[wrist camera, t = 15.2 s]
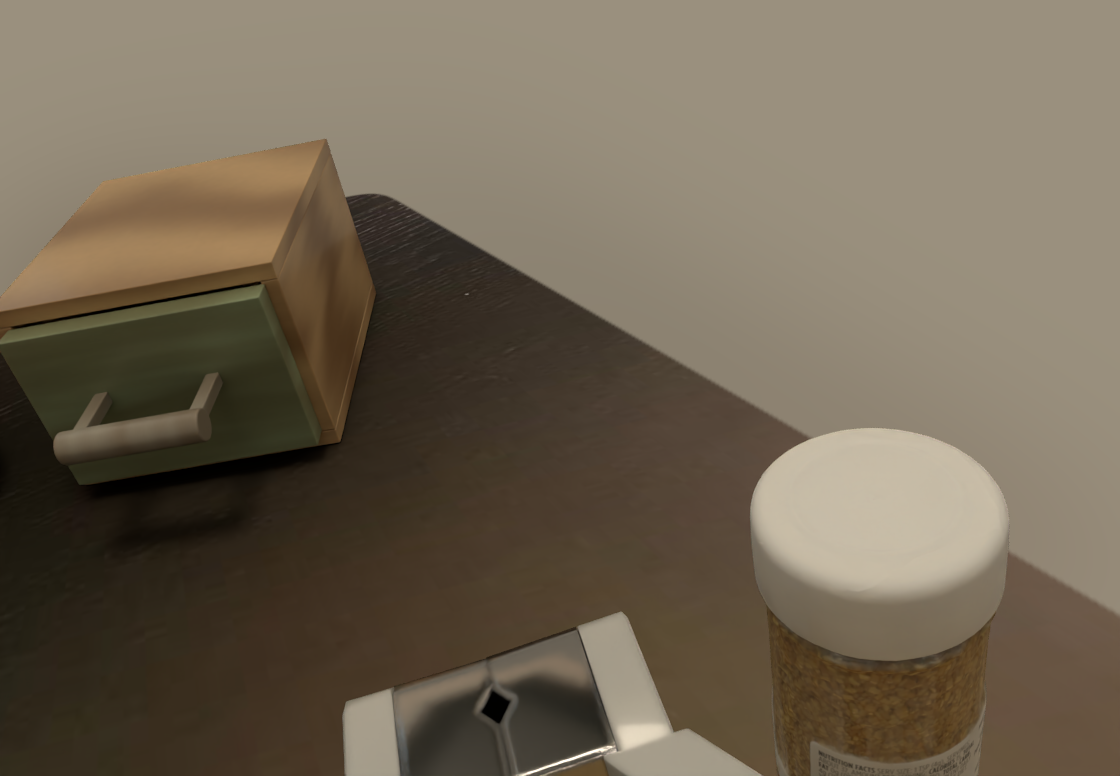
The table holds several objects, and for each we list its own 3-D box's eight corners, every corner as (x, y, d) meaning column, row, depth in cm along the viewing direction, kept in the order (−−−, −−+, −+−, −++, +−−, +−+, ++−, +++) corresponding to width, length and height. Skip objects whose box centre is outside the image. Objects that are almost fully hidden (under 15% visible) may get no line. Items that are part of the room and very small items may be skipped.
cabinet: (340, 442, 46) (271, 261, 41) (84, 486, 47) (-17, 314, 42) (376, 293, 58) (326, 138, 53) (172, 329, 59) (102, 181, 54)
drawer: (301, 506, 41) (234, 351, 37) (43, 549, 42) (-53, 402, 38) (357, 300, 56) (313, 172, 52) (164, 335, 57) (105, 211, 52)
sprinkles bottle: (794, 792, 28) (765, 413, 20) (968, 822, 26) (1006, 422, 19) (772, 957, 24) (728, 573, 17) (972, 1002, 23) (1020, 601, 15)
